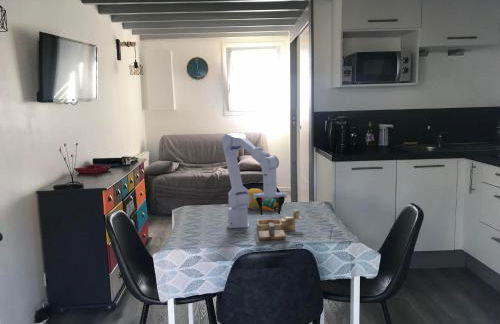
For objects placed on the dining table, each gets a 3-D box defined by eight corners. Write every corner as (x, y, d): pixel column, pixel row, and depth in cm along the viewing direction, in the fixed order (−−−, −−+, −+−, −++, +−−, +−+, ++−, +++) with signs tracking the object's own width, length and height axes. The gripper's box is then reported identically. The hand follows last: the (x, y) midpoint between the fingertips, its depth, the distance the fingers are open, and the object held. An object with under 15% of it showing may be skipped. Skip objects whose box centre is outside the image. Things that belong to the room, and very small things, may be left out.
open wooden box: (257, 234, 198) (257, 223, 197) (256, 228, 207) (256, 218, 206) (295, 232, 198) (295, 222, 198) (293, 226, 207) (293, 216, 207)
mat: (256, 243, 184) (256, 242, 184) (254, 235, 196) (254, 234, 196) (289, 242, 185) (289, 241, 185) (286, 233, 197) (286, 233, 197)
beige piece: (285, 220, 201) (285, 211, 200) (285, 218, 203) (285, 210, 203) (301, 219, 201) (301, 211, 200) (300, 218, 204) (300, 209, 203)
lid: (259, 241, 186) (259, 227, 185) (258, 234, 195) (258, 222, 194) (285, 240, 186) (285, 226, 186) (283, 234, 195) (283, 221, 194)
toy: (285, 209, 249) (245, 199, 259) (288, 191, 247) (248, 181, 257) (272, 218, 232) (230, 207, 242) (275, 198, 230) (232, 188, 240)
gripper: (253, 186, 189) (254, 217, 191) (287, 185, 189) (287, 215, 191) (252, 182, 196) (253, 212, 198) (285, 181, 196) (286, 211, 198)
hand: (270, 214), depth 195 cm, fingers open, 7 cm apart
